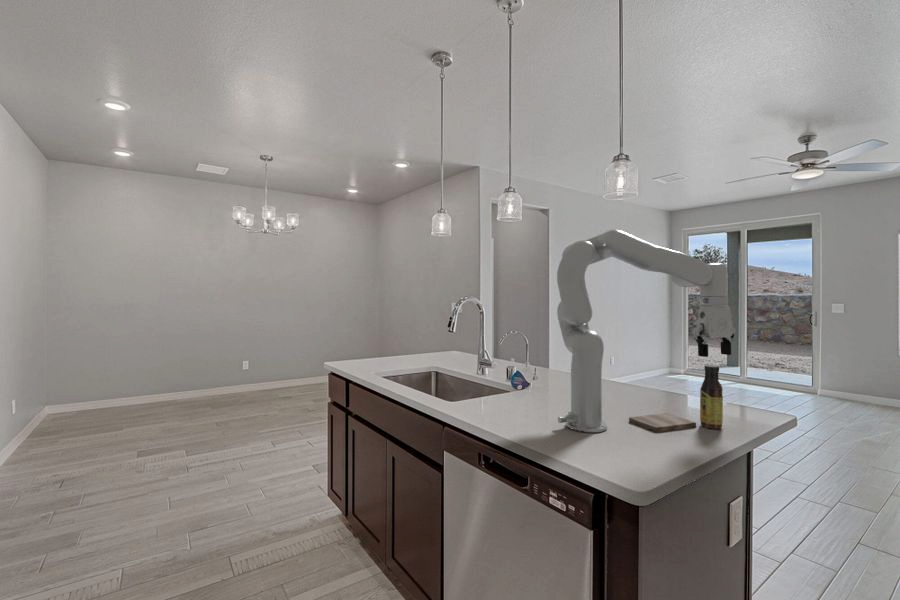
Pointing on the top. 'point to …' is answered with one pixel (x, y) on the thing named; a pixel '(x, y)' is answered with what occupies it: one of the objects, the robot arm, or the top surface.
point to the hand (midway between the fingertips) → (714, 355)
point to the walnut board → (662, 422)
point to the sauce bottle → (711, 399)
